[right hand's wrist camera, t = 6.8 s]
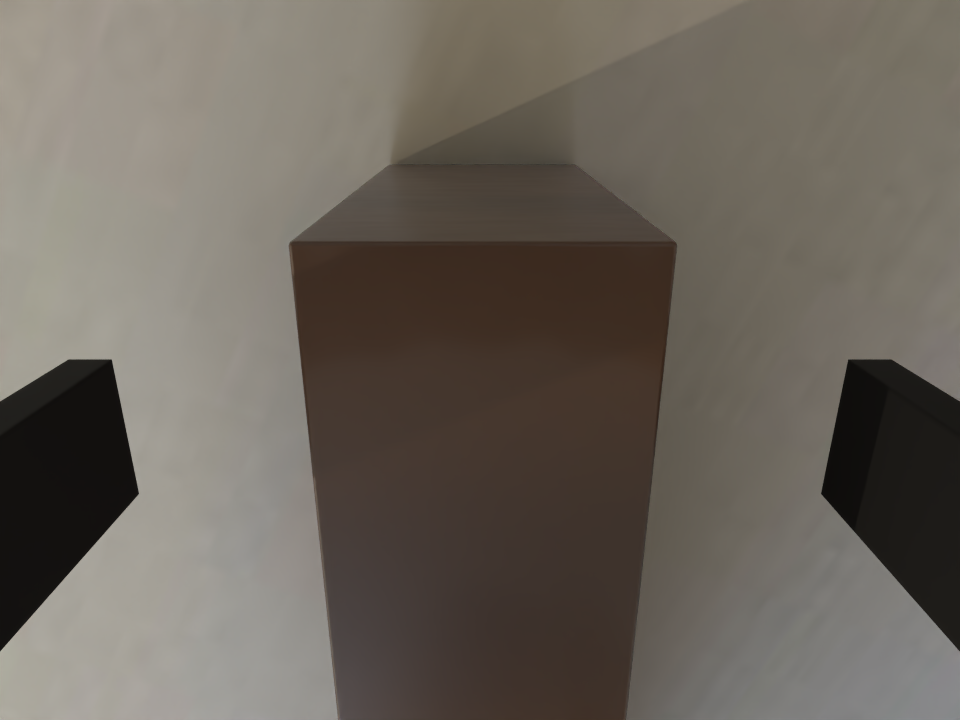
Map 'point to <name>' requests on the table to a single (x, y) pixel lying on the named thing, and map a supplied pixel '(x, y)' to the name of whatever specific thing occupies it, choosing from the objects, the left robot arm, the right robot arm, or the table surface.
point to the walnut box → (482, 437)
